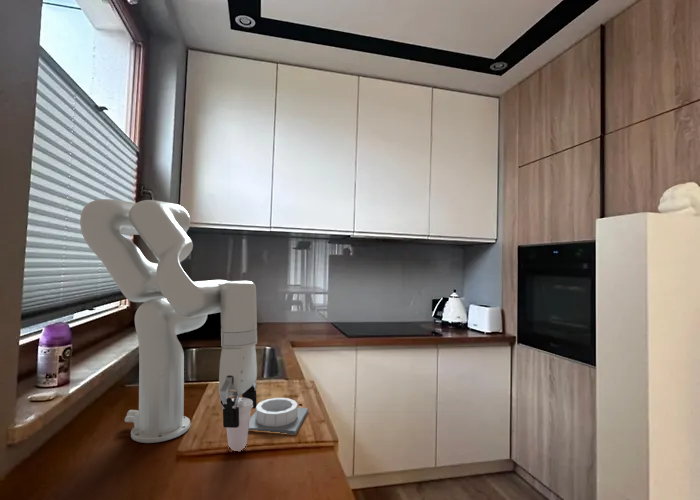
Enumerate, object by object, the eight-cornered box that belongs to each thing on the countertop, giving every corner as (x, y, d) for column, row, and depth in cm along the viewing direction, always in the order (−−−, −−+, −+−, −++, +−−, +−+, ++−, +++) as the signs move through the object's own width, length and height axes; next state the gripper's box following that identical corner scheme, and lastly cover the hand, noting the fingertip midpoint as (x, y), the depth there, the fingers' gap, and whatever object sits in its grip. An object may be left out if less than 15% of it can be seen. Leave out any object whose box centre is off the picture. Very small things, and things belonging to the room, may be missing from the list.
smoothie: (241, 437, 87) (241, 376, 87) (258, 446, 83) (259, 382, 83) (216, 448, 82) (216, 383, 82) (233, 458, 78) (233, 390, 78)
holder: (241, 431, 90) (241, 414, 90) (260, 409, 103) (261, 394, 103) (295, 435, 88) (295, 417, 88) (308, 412, 101) (308, 396, 101)
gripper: (239, 330, 92) (240, 401, 92) (203, 347, 75) (204, 435, 74) (269, 330, 91) (270, 402, 91) (239, 347, 74) (241, 436, 73)
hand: (240, 416), depth 83 cm, fingers open, 9 cm apart
